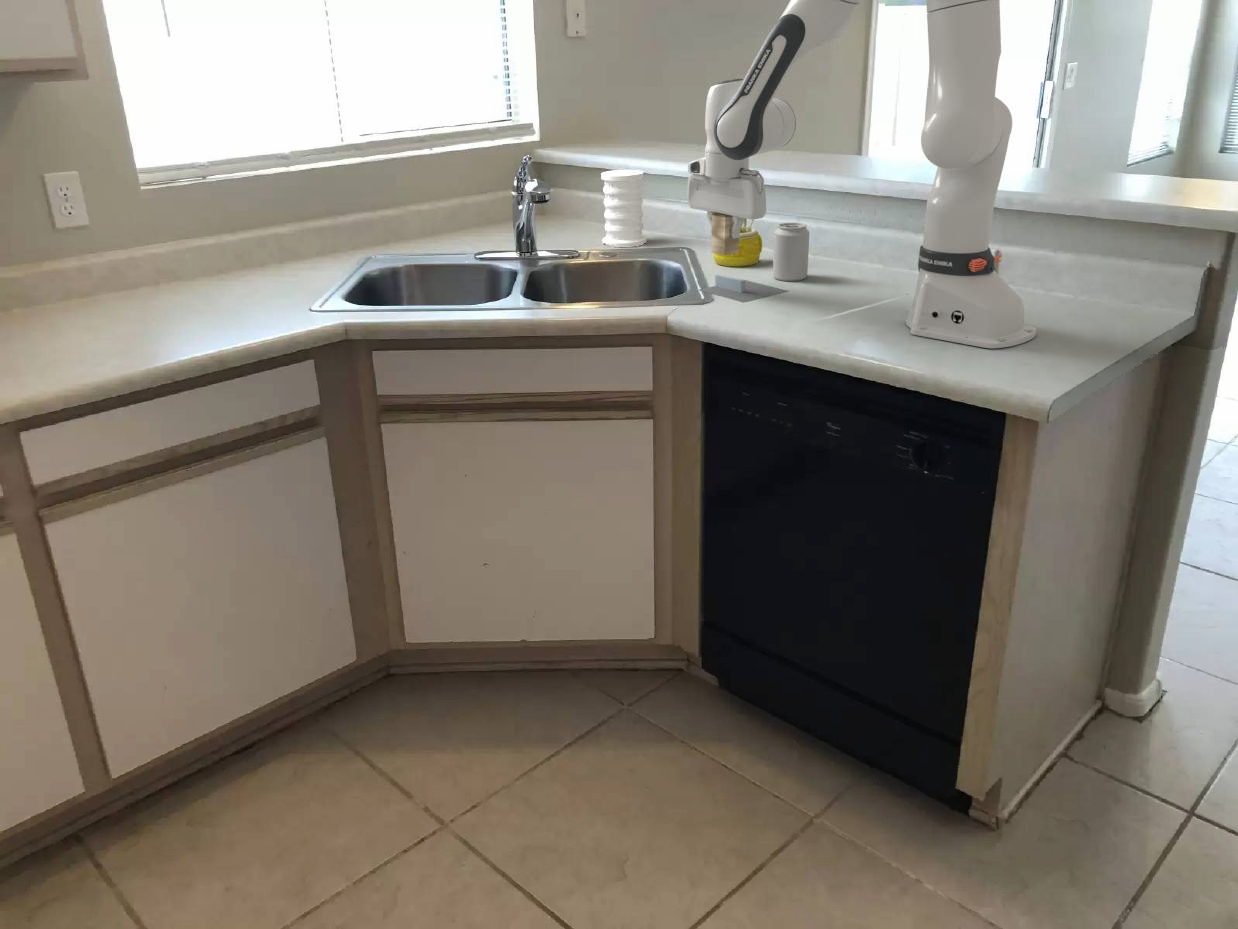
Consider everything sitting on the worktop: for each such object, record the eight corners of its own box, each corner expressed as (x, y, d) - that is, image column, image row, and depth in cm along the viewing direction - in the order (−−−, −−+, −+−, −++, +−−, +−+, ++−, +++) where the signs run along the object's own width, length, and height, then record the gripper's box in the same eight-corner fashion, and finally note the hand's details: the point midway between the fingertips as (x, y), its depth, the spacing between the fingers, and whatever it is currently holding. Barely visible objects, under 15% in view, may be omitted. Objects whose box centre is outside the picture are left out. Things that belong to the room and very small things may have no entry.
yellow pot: (732, 271, 215) (733, 218, 210) (704, 263, 224) (704, 212, 219) (776, 263, 221) (778, 211, 216) (747, 256, 230) (748, 205, 225)
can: (805, 275, 210) (808, 220, 205) (808, 283, 203) (811, 227, 198) (771, 275, 211) (773, 221, 206) (773, 283, 204) (775, 227, 199)
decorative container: (630, 237, 256) (628, 168, 248) (654, 243, 247) (653, 172, 240) (594, 242, 250) (591, 172, 243) (617, 249, 241) (615, 177, 234)
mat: (789, 292, 197) (789, 290, 196) (743, 304, 190) (743, 302, 190) (742, 281, 207) (742, 279, 207) (698, 291, 200) (698, 289, 200)
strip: (745, 291, 197) (745, 280, 196) (740, 292, 197) (741, 281, 196) (719, 284, 203) (719, 273, 202) (715, 285, 202) (715, 274, 201)
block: (738, 252, 196) (739, 213, 192) (724, 255, 193) (725, 216, 190) (725, 249, 198) (726, 210, 195) (711, 252, 196) (711, 213, 193)
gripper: (775, 169, 183) (772, 240, 189) (705, 160, 198) (704, 226, 204) (751, 172, 179) (749, 245, 185) (682, 163, 194) (682, 230, 200)
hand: (725, 235), depth 194 cm, fingers closed on block, 4 cm apart
